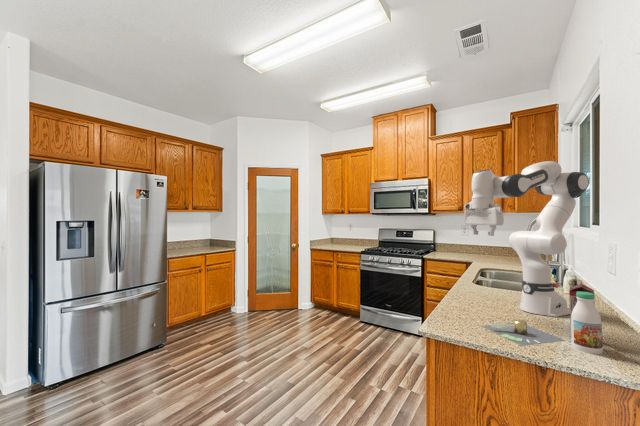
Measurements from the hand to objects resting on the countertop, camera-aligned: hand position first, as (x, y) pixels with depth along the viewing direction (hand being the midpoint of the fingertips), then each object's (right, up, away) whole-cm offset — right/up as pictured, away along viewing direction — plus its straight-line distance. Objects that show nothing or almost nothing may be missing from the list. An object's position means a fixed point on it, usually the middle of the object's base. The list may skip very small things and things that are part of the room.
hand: (483, 235), depth 131 cm
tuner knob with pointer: (-1, -36, -19) cm, 41 cm away
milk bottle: (+16, -37, -34) cm, 53 cm away
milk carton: (+22, -37, -25) cm, 50 cm away
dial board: (+3, -37, -20) cm, 43 cm away
